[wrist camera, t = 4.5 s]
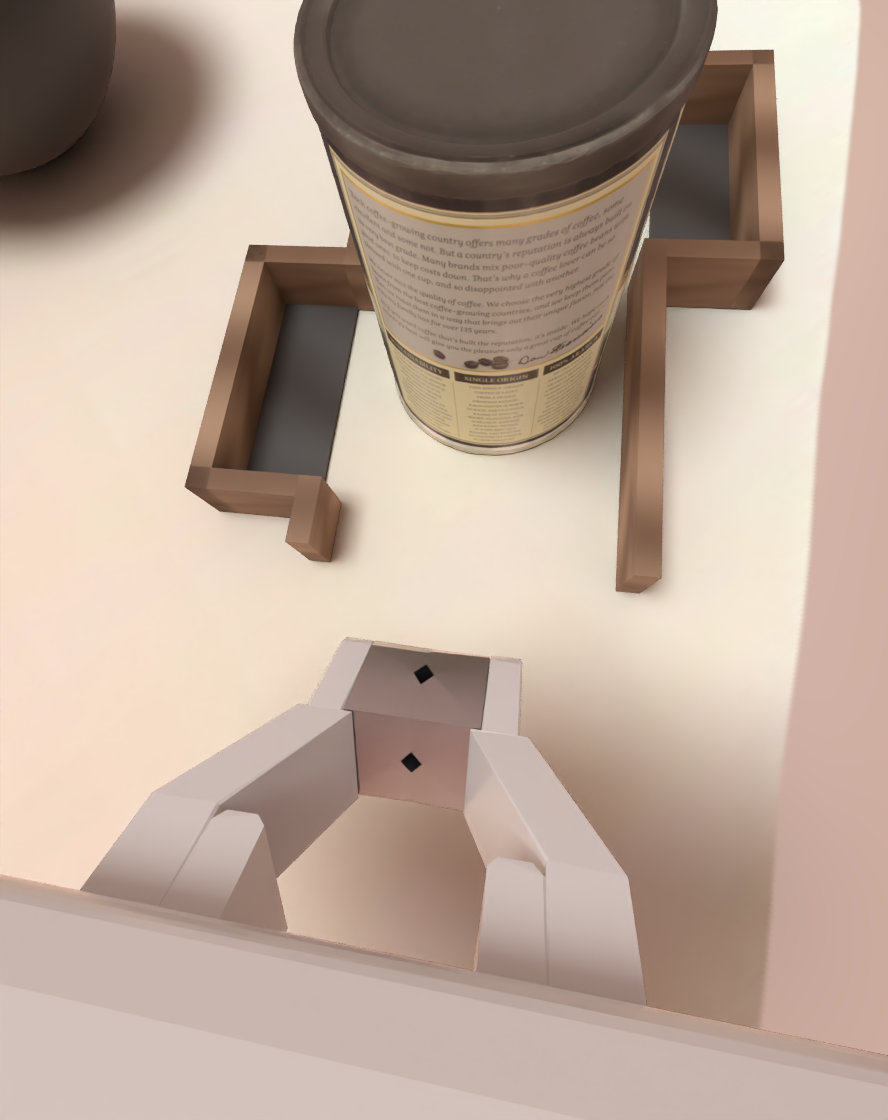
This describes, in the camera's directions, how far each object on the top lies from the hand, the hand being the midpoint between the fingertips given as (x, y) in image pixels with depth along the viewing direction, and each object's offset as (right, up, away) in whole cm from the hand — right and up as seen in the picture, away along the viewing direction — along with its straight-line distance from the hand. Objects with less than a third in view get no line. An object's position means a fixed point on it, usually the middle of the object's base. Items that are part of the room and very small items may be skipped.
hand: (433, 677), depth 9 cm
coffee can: (+3, +12, +17) cm, 21 cm away
